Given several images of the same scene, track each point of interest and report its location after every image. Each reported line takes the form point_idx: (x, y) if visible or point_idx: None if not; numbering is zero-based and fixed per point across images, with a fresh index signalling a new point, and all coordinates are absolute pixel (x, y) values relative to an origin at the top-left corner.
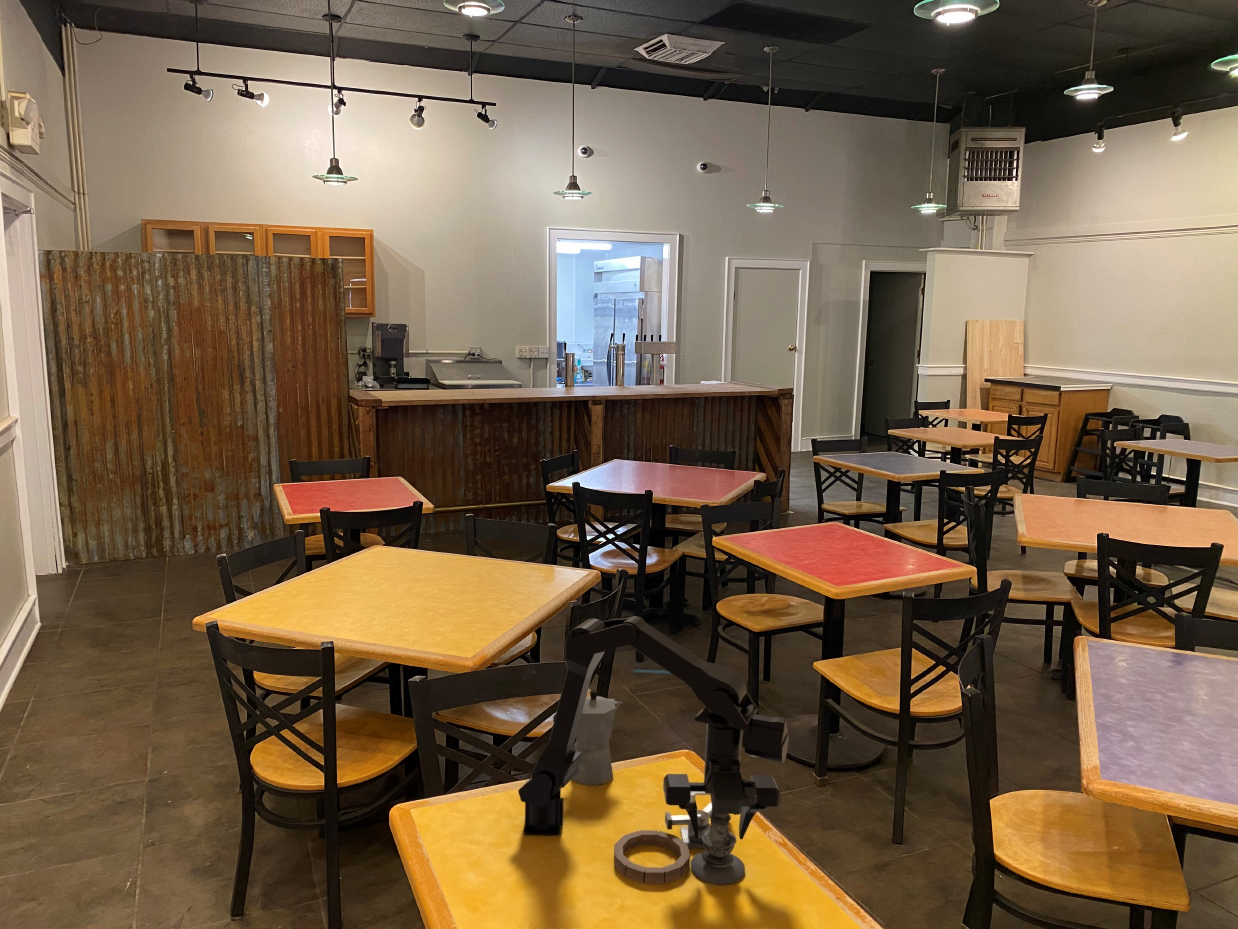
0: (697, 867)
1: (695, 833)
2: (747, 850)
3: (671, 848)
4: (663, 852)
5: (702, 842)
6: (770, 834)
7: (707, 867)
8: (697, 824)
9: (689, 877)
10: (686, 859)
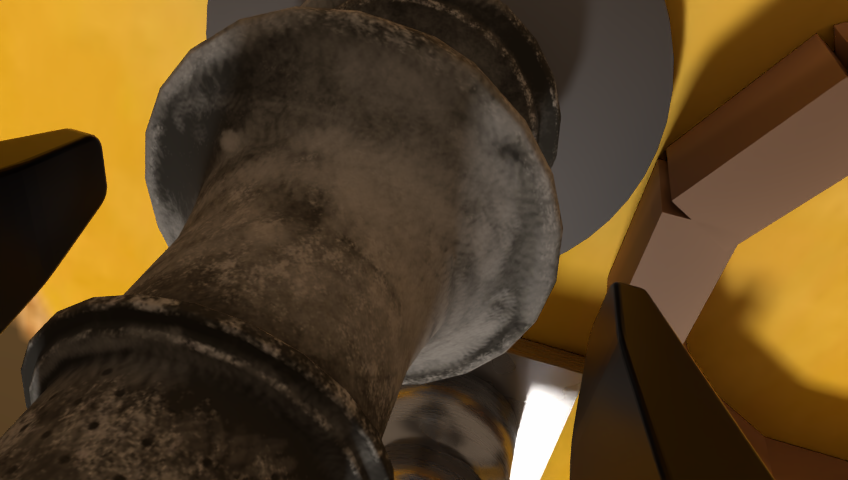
0: (613, 109)
1: (663, 336)
2: None
3: None
4: (760, 367)
5: None
6: (22, 314)
7: None
8: (658, 440)
9: (735, 21)
10: (729, 171)
